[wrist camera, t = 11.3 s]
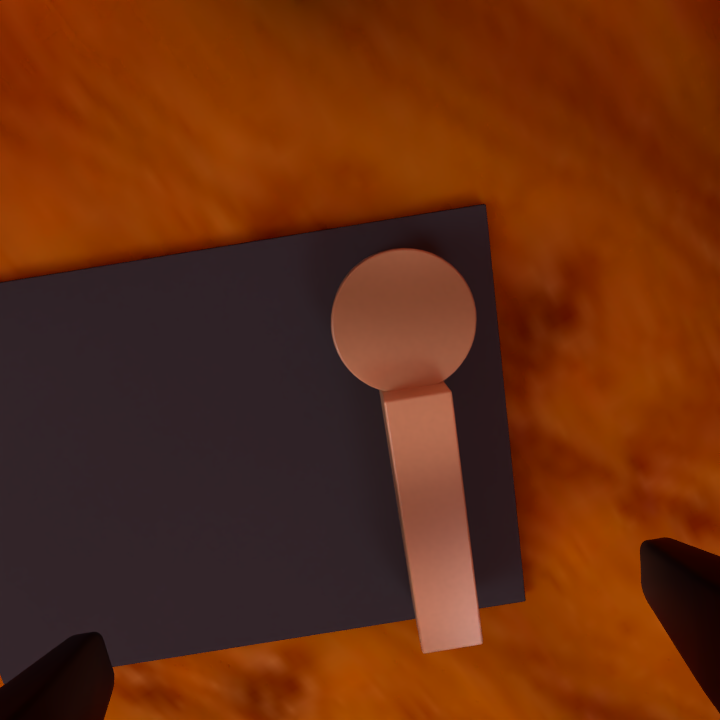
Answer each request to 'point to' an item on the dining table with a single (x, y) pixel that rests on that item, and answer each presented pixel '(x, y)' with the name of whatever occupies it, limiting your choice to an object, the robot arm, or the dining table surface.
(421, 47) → the dining table surface
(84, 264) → the dining table surface
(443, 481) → the wooden spoon
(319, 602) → the placemat
